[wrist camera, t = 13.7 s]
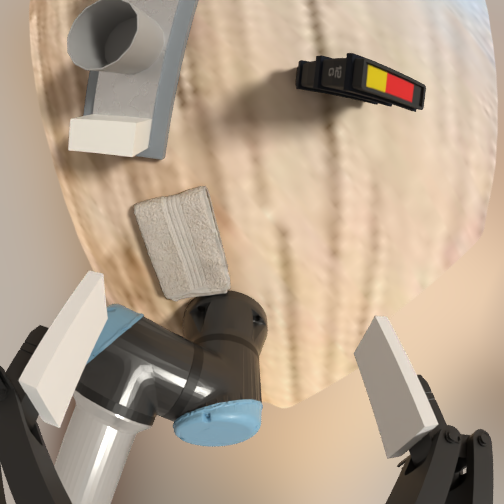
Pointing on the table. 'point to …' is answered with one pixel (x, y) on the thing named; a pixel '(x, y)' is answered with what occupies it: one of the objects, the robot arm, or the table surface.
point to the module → (109, 134)
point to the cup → (114, 38)
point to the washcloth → (184, 244)
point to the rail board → (166, 83)
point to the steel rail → (140, 84)
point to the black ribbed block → (360, 81)
